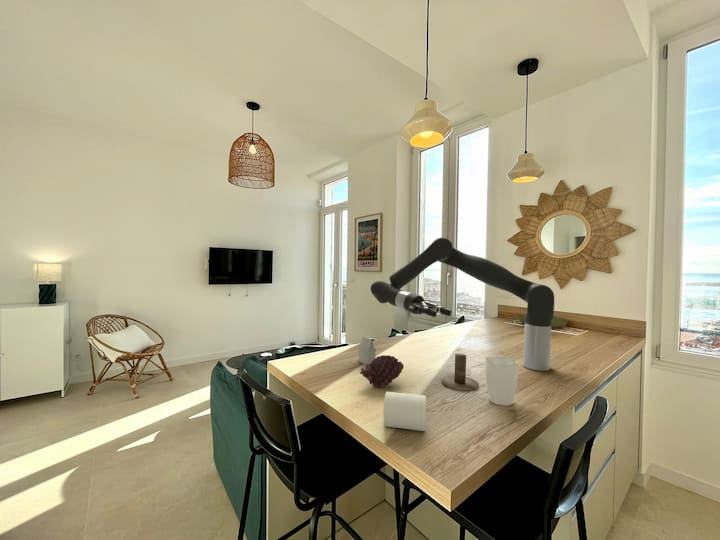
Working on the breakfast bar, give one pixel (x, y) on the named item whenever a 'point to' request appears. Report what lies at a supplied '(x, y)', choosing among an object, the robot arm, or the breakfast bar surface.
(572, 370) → the breakfast bar surface
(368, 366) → the pine cone
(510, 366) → the cup
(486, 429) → the breakfast bar surface
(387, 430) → the breakfast bar surface
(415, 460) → the breakfast bar surface
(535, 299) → the robot arm
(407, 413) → the white rounded block
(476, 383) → the lid
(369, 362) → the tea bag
